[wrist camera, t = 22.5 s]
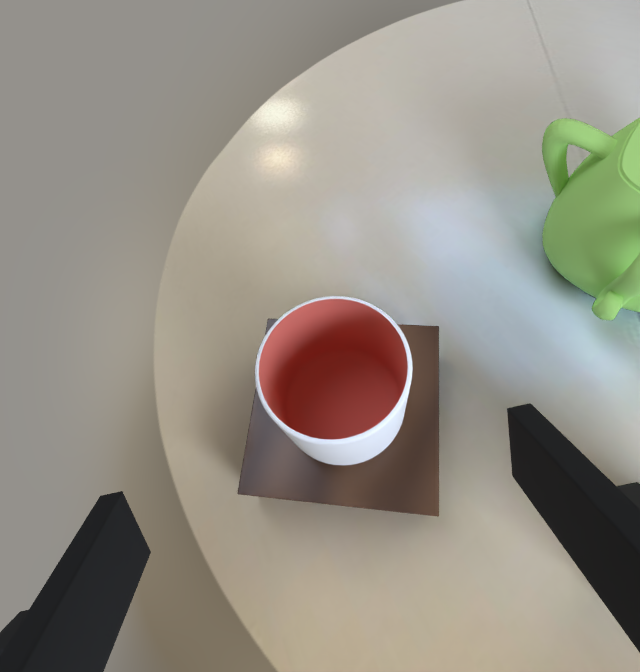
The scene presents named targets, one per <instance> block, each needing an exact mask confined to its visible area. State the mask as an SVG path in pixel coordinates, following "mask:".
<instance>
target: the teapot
mask: <svg viewBox="0 0 640 672" xmlns="http://www.w3.org/2000/svg"><path fill="white" fill-rule="evenodd" d="M568 144H571V145H576V146H578V147H581V148H583V149H585V150H587V151H589V152H591V154H590V155H589V156H588V157H587V158H586V159H585V160H584V161H583V162H582V163H581V164H580V165H579V167H578V168H577V169H576V170H575V171H574V172H573V174H572V175H571V176H570V177H568V170H567V164H566V153H567V146H568ZM542 154H543V160H544V163H545V167H546V171H547V174H548V177H549V180H550V183H551V185H552V188H553V191H554V193H555V196H556V198H555V199H554V201H553V203H552V205H551V207H550V209H549V212H548V215H547V217H546V220H545V224H544V228H543V235H542V238H543V247H544V250H545V253H546V255H547V257H548V259H549V261H550V263H551V264H552V265H553V267H554V268H555V269H556V270H557V271H558V272H559V273H560V274H561V275H562V276H563V277H564V278H565V279H567V280H568V281H569V282H571V283H572V284H574V285H575V286H576V287H578V288H580V289H581V290H583V291H584V292H586V293H588V294H589V295H591V296H593V297H595V298H596V300H595V302H594V304H593V306H592V311H593V313H594V314H595V315H596V316H597V317H599V318H600V319H603V320H613V319H614V318H615V317H616V315H617V314H618V312H619V310H620V309H621V308H624V309H628V310H632V311H636V312H640V118H638V119H637V120H635V121H634V122H632V123H630V124H629V125H627V126H626V127H624V128H623V129H621V130H620V131H618V132H617V133H616V134H614V135H613V136H609V135H608V134H606V133H604V132H602V131H600V130H598V129H596V128H594V127H592V126H590V125H588V124H585V123H583V122H581V121H577V120H574V119H567V118H564V119H558V120H556V121H554V122H552V123H551V124H550V125H549V126H548V127H547V129H546V130H545V133H544V136H543V143H542Z"/></svg>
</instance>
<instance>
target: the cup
mask: <svg viewBox="0 0 640 672" xmlns="http://www.w3.org/2000/svg"><path fill="white" fill-rule="evenodd" d="M411 380H412V357H411V352H410V348H409V345H408V342H407V340H406V338H405V336H404V334H403V332H402V331H401V329H400V328H399V326H398V325H397V324H396V323H395V321H394V320H393V319H392V318H391V317H390V316H389V315H387V314H386V313H385V312H384V311H382V310H381V309H379V308H378V307H376V306H374V305H372V304H370V303H368V302H366V301H363V300H360V299H356V298H352V297H345V296H328V297H321V298H316V299H313V300H309V301H307V302H304V303H302V304H300V305H298V306H296V307H294V308H292V309H291V310H289V311H288V312H286V313H285V314H284V315H283V316H281V317H280V318H279V319H278V320H277V321H276V322H275V323H274V324H273V326H272V327H271V328H270V329H269V331H268V332H267V334H266V335H265V337H264V339H263V341H262V343H261V345H260V348H259V351H258V354H257V358H256V364H255V382H256V388H257V392H258V395H259V398H260V401H261V403H262V405H263V407H264V409H265V410H266V412H267V413H268V415H269V416H270V417H271V418H272V420H273V421H274V422H275V423H276V424H277V425H278V426H279V427H280V428H281V429H282V430H283V431H284V432H285V433H286V435H287V436H288V437H289V438H290V439H291V440H292V441H293V442H294V443H295V444H296V445H297V446H298V447H299V448H300V449H301V450H302V451H303V452H305V453H306V454H307V455H309V456H310V457H312V458H314V459H316V460H318V461H321V462H324V463H327V464H332V465H353V464H358V463H361V462H365V461H367V460H369V459H371V458H373V457H375V456H377V455H378V454H379V453H381V452H382V451H383V450H384V449H386V448H387V447H388V446H389V445H390V443H391V442H392V441H393V440H394V438H395V437H396V435H397V433H398V431H399V429H400V427H401V424H402V422H403V418H404V413H405V409H406V404H407V399H408V395H409V390H410V385H411Z"/></svg>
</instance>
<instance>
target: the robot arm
mask: <svg viewBox="0 0 640 672" xmlns="http://www.w3.org/2000/svg"><path fill="white" fill-rule="evenodd" d="M507 412H508V424H509V437H510V450H511V462H512V475H513V477H514V479H515V480H516V482H517V483H518V484H519V486H520V487H521V488H522V490H523V491H524V493H525V494H526V495H527V497H528V498H529V500H530V501H531V502H532V504H533V505H534V507H535V508H536V509H537V511H538V512H539V513H540V515H541V516H542V518H543V519H544V520H545V522H546V523H547V525H548V526H549V527H550V529H551V530H552V531H553V533H554V534H555V536H556V537H557V538H558V540H559V541H560V543H561V544H562V545H563V547H564V548H565V549H566V551H567V552H568V554H569V555H570V556H571V558H572V559H573V561H574V562H575V563H576V565H577V566H578V568H579V569H580V570H581V572H582V573H583V574H584V576H585V577H586V579H587V580H588V581H589V583H590V584H591V586H592V587H593V588H594V590H595V591H596V592H597V594H598V595H599V597H600V598H601V599H602V601H603V602H604V604H605V605H606V606H607V608H608V609H609V611H610V612H611V613H612V615H613V616H614V617H615V619H616V620H617V622H618V623H619V624H620V626H621V627H622V629H623V630H624V631H625V633H626V634H627V635H628V637H629V638H630V640H631V641H632V642H633V644H634V645H635V647H636V648H637V649H638V651H639V652H640V484H639V483H637V482H635V483H631V484H626V485H621V486H615V485H614V484H613V483H612V482H611V481H610V480H609V479H608V478H607V477H606V476H605V475H604V474H603V473H602V472H601V471H600V470H599V469H598V468H597V467H596V466H595V465H594V464H593V463H592V462H590V461H589V460H588V459H587V458H586V457H585V456H584V455H583V454H582V453H581V452H580V451H579V450H578V449H577V448H576V447H575V446H574V445H573V444H572V443H571V442H570V441H569V440H568V439H567V438H566V437H565V436H564V435H563V434H562V433H560V432H559V431H558V430H557V429H556V428H555V427H554V426H553V425H552V424H551V423H550V422H549V421H548V420H547V419H546V418H545V417H544V416H543V415H542V414H541V413H540V412H539V411H538V410H537V409H536V408H535V407H534V406H533V405H531V404H526V405H521V406H516V407H512V408H507ZM150 553H151V552H150V549H149V547H148V545H147V543H146V541H145V539H144V537H143V535H142V533H141V530H140V528H139V526H138V524H137V522H136V520H135V518H134V515H133V513H132V511H131V509H130V507H129V505H128V503H127V500H126V498H125V496H124V494H123V492H122V491H121V492H117V493H112V494H107V495H103V496H100V497H99V499H98V501H97V502H96V504H95V506H94V507H93V509H92V510H91V512H90V513H89V515H88V517H87V518H86V520H85V521H84V523H83V525H82V526H81V528H80V529H79V531H78V533H77V534H76V536H75V537H74V539H73V541H72V542H71V544H70V545H69V547H68V549H67V550H66V552H65V553H64V555H63V557H62V558H61V560H60V562H59V563H58V565H57V566H56V568H55V569H54V571H53V572H52V574H51V576H50V577H49V579H48V580H47V582H46V584H45V585H44V587H43V588H42V590H41V592H40V593H39V595H38V596H37V598H36V600H35V601H34V603H33V605H32V606H31V608H30V609H29V610H26V611H21V612H19V613H18V614H17V616H16V617H15V618H14V619H13V620H12V621H11V622H10V623H9V624H8V625H7V626H6V627H5V628H4V629H3V630H2V631H1V632H0V672H103V671H104V669H105V666H106V663H107V661H108V659H109V656H110V653H111V651H112V649H113V646H114V643H115V641H116V638H117V636H118V633H119V631H120V628H121V626H122V623H123V621H124V618H125V616H126V613H127V611H128V608H129V606H130V603H131V601H132V598H133V596H134V593H135V591H136V588H137V586H138V583H139V581H140V578H141V575H142V573H143V570H144V568H145V565H146V563H147V560H148V558H149V555H150Z"/></svg>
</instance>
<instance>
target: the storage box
mask: <svg viewBox="0 0 640 672" xmlns="http://www.w3.org/2000/svg"><path fill="white" fill-rule="evenodd" d="M277 320H278V319H268V322H267V327H266V333H265V335H266V334H267V332H268V331H269V329H270V328H271V327H272V326H273V324H274V323H275V322H276V321H277ZM398 326H399V328H400V329H401V331H402V332H403V334H404V336H405V338H406V340H407V342H408V345H409V348H410V352H411V357H412V380H411V385H410V390H409V395H408V399H407V404H406V409H405V413H404V418H403V422H402V424H401V427H400V429H399V431H398V433H397V435H396V437H395V438H394V440H393V441H392V442H391V443H390V445H389V446H388V447H387V448H386V449H384V450H383V451H382V452H381V453H379V454H378V455H377V456H375V457H373V458H371V459H369V460H367V461H365V462H361V463H358V464H353V465H332V464H327V463H324V462H321V461H318V460H316V459H314V458H312V457H310V456H309V455H307V454H306V453H305V452H303V451H302V450H301V449H300V448H299V447H298V446H297V445H296V444H295V443H294V442H293V441H292V440H291V439H290V438H289V437H288V436H287V435H286V433H285V432H284V431H283V430H282V429H281V428H280V427H279V426H278V425H277V424H276V423H275V422H274V421H273V420H272V418H271V417H270V416H269V415H268V413H267V412H266V410H265V409H264V407H263V405H262V403H261V401H260V398H259V395H258V392H257V388H256V390H255V396H254V402H253V408H252V413H251V419H250V425H249V430H248V436H247V442H246V448H245V453H244V459H243V465H242V470H241V476H240V482H239V488H238V494H241V495H250V496H258V497H267V498H276V499H285V500H294V501H303V502H312V503H321V504H330V505H339V506H348V507H357V508H366V509H375V510H384V511H393V512H402V513H411V514H420V515H429V516H439V326H419V325H398Z"/></svg>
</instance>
